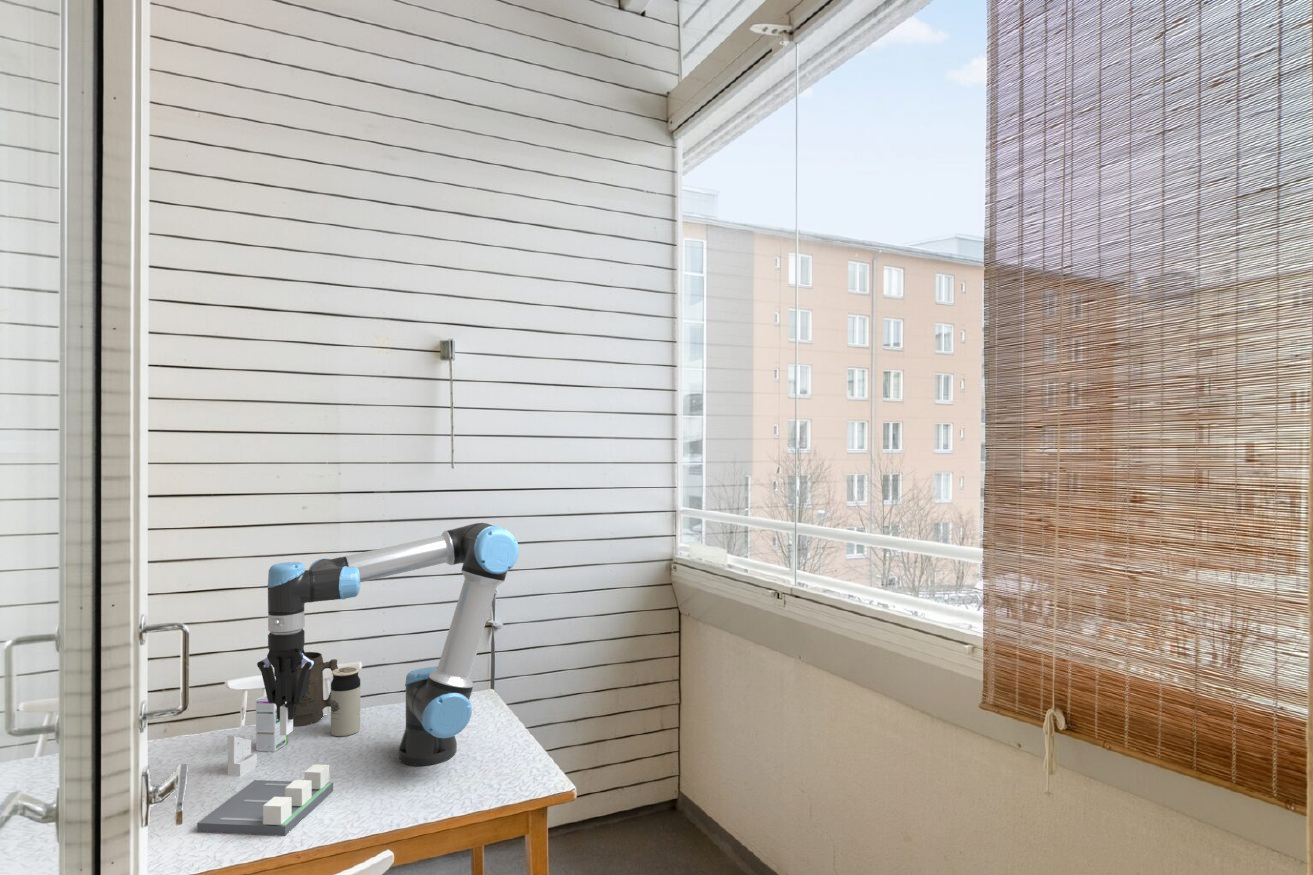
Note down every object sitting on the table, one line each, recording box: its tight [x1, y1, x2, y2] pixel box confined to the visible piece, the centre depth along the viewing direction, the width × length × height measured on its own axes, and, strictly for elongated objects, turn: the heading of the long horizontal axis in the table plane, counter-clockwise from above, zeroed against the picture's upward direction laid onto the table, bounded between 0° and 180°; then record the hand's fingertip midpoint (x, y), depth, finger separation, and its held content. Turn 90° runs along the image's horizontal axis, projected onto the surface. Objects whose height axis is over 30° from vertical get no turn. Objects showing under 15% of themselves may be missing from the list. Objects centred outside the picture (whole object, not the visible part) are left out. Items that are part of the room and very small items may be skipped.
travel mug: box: [330, 666, 361, 737], centre depth 211 cm, size 8×8×18 cm
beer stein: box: [293, 651, 339, 727], centre depth 221 cm, size 15×11×20 cm
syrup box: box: [255, 693, 289, 753], centre depth 200 cm, size 6×6×14 cm
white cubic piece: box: [303, 764, 330, 789], centre depth 173 cm, size 4×4×4 cm
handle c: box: [263, 797, 292, 825], centre depth 157 cm, size 4×4×4 cm
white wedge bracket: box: [227, 735, 258, 777], centre depth 185 cm, size 4×10×9 cm, turn 168°
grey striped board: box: [196, 779, 334, 837], centre depth 166 cm, size 20×20×2 cm
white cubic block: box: [285, 779, 312, 806], centre depth 165 cm, size 4×4×4 cm
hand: (286, 732), depth 166 cm, fingers closed
